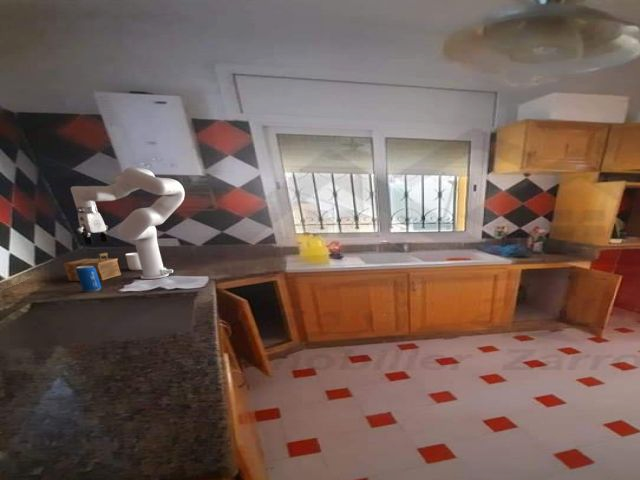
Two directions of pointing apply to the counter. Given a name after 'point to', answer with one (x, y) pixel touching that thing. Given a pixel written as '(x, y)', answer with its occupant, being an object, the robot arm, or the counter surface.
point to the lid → (92, 260)
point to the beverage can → (88, 278)
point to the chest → (102, 270)
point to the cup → (133, 261)
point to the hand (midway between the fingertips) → (97, 242)
